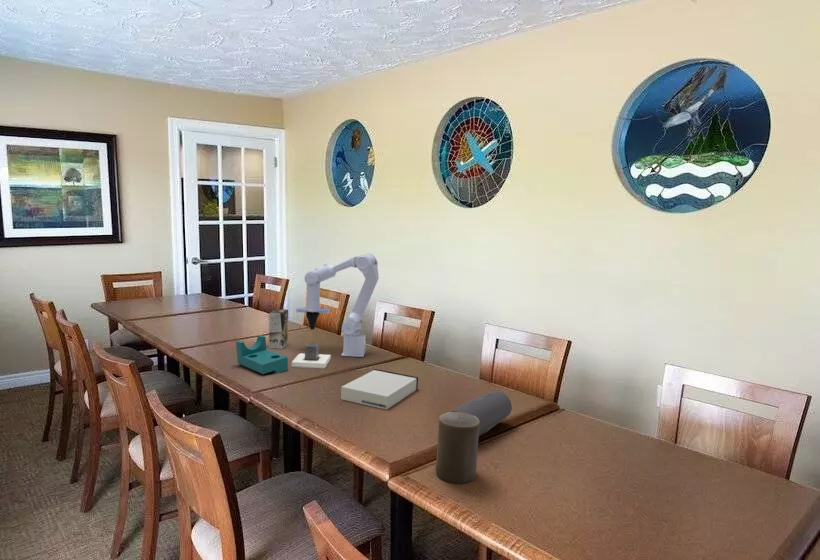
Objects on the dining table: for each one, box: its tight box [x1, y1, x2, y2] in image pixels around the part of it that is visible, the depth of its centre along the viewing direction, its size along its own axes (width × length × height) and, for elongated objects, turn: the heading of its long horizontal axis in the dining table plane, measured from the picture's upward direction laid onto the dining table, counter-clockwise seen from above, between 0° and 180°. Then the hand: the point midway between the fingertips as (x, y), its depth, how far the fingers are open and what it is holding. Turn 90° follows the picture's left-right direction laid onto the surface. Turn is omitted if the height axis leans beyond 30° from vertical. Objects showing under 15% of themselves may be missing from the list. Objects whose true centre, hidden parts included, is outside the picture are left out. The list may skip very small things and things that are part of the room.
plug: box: [304, 342, 320, 361], centre depth 211 cm, size 5×6×7 cm
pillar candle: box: [435, 411, 480, 485], centre depth 125 cm, size 10×10×15 cm
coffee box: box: [268, 308, 289, 350], centre depth 235 cm, size 9×6×16 cm
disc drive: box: [340, 368, 419, 410], centre depth 179 cm, size 18×22×5 cm
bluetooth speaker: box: [450, 390, 513, 437], centre depth 150 cm, size 23×9×10 cm, turn 141°
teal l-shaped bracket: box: [235, 334, 289, 375], centre depth 202 cm, size 18×11×10 cm, turn 47°
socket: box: [291, 353, 332, 370], centre depth 212 cm, size 13×13×2 cm
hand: (312, 329), depth 230 cm, fingers closed
